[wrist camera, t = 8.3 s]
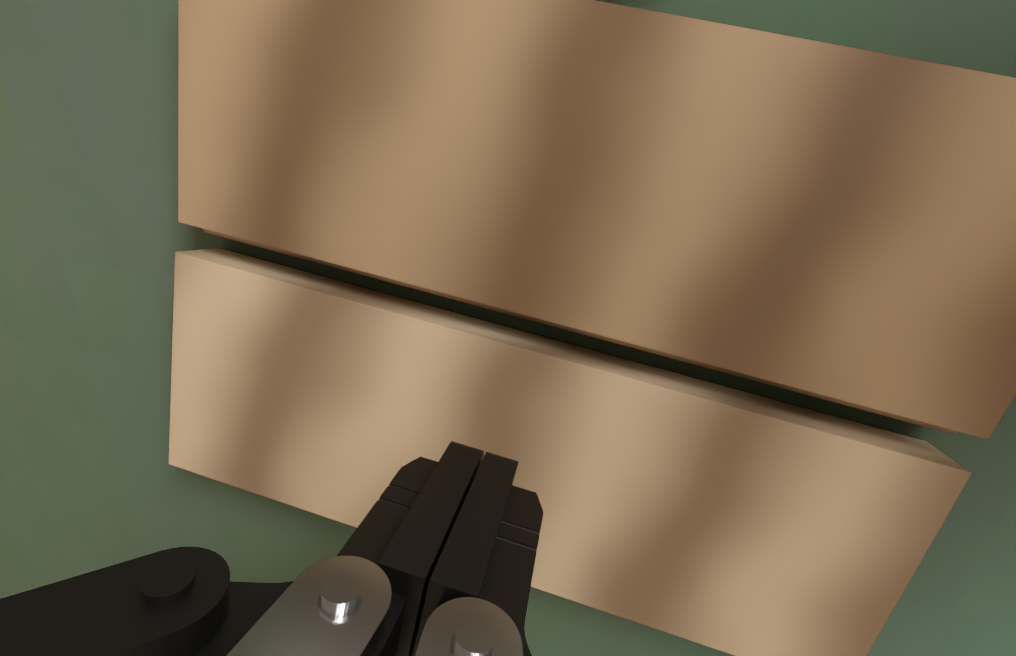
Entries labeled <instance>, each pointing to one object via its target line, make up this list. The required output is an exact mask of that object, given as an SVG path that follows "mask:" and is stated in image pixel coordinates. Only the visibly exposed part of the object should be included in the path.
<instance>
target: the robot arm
mask: <svg viewBox="0 0 1016 656" xmlns="http://www.w3.org/2000/svg"><path fill="white" fill-rule="evenodd" d="M483 456H484V457H483ZM518 463H519V461H516V460H513V459H509V458H506V457H503V456H500V455H496V454H493V453H490V452H486V453H485V455H484V451H483V450H480V449H476V448H473V447H470V446H467V445H463V444H460V443H457V442H454V441H451V442H450V444H449V445H448V447H447V449H446V450H445V452H444V454H443V455H442V457H441V459H440V460H439V462H436V461H433V460H430V459H427V458H424V457H421V456H420V457H419V458H417V459H415V460H413V461H411V462H410V463H408V464H406V465H404V466H402V467H401V468H400V470H399V471H398V472H397V474H396V475H395V477H394V478H393V479H392V481H391V482H390V484H389V486H387V488H386V489H385V490H384V492H383V493H382V494H381V496H380V498H379V500H377V501H376V503H375V504H374V505H373V507H372V508H371V510H370V511H369V512H368V514H367V515H366V517H365V518H364V519H363V521H362V522H361V523H360V525H359V526H358V528H357V529H356V530H355V532H354V533H353V534H352V536H351V537H350V539H349V540H348V541H347V543H346V544H345V545H344V547H343V548H342V550H341V551H340V552H339V554H338V555H337V556H335V557H330V558H327V559H324V560H321V561H319V562H317V563H315V564H313V565H311V566H310V567H308V568H307V569H306V570H304V571H303V572H302V573H301V574H300V575H299V576H298V577H297V578H296V579H295V580H294V581H291V582H284V583H254V582H230V571H229V567H228V565H227V563H226V561H225V560H224V559H223V558H222V557H221V556H220V555H219V554H217V553H216V552H213V551H211V550H209V549H204V548H200V547H178V548H171V549H167V550H163V551H159V552H156V553H153V554H149V555H146V556H143V557H139V558H136V559H133V560H129V561H126V562H122V563H119V564H116V565H112V566H109V567H106V568H102V569H99V570H96V571H92V572H89V573H86V574H82V575H79V576H76V577H72V578H69V579H66V580H62V581H59V582H56V583H52V584H49V585H46V586H42V587H39V588H35V589H32V590H29V591H25V592H22V593H19V594H15V595H12V596H9V597H5V598H2V599H0V656H532V655H531V653H530V651H529V648H528V645H527V642H526V638H525V630H524V623H525V615H526V610H527V604H528V598H529V593H530V587H531V581H532V575H533V570H534V564H535V558H536V551H537V547H538V541H539V534H540V530H541V524H542V518H543V509H542V507H541V504H540V501H539V498H538V496H537V493H536V492H532V491H529V490H526V489H523V488H520V487H516V486H513V481H514V478H515V474H516V470H517V467H518Z"/></svg>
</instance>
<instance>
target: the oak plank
mask: <svg viewBox="0 0 1016 656" xmlns="http://www.w3.org/2000/svg"><path fill="white" fill-rule="evenodd" d="M451 441H454V442H457V443H460V444H463V445H467V446H470V447H473V448H476V449H480V450H483V451H484V455H485V453H486V452H490V453H493V454H496V455H500V456H503V457H506V458H509V459H513V460H516V461H519V463H518V467H517V470H516V474H515V478H514V481H513V486H516V487H520V488H523V489H526V490H529V491H532V492H536V493H537V496H538V498H539V501H540V504H541V507H542V509H543V518H542V524H541V530H540V534H539V541H538V547H537V551H536V558H535V564H534V570H533V575H532V581H531V587H533V588H536V589H539V590H542V591H545V592H548V593H551V594H554V595H557V596H560V597H563V598H566V599H569V600H572V601H575V602H578V603H581V604H584V605H587V606H590V607H593V608H596V609H598V610H601V611H604V612H607V613H610V614H613V615H616V616H619V617H622V618H625V619H628V620H631V621H634V622H637V623H640V624H643V625H646V626H649V627H652V628H655V629H658V630H661V631H664V632H666V633H669V634H672V635H675V636H678V637H681V638H684V639H687V640H690V641H693V642H696V643H699V644H702V645H705V646H708V647H711V648H714V649H717V650H720V651H723V652H726V653H729V654H731V655H734V656H867V655H868V653H869V651H870V649H871V648H872V646H873V644H874V642H875V641H876V639H877V637H878V635H879V634H880V632H881V630H882V628H883V627H884V625H885V623H886V622H887V620H888V618H889V616H890V615H891V613H892V611H893V609H894V608H895V606H896V604H897V602H898V601H899V599H900V597H901V596H902V594H903V592H904V590H905V589H906V587H907V585H908V583H909V582H910V580H911V578H912V576H913V575H914V573H915V571H916V570H917V568H918V566H919V564H920V563H921V561H922V559H923V557H924V556H925V554H926V552H927V550H928V549H929V547H930V545H931V544H932V542H933V540H934V538H935V537H936V535H937V533H938V531H939V530H940V528H941V526H942V524H943V523H944V521H945V519H946V518H947V516H948V514H949V512H950V511H951V509H952V507H953V505H954V504H955V502H956V500H957V498H958V497H959V495H960V493H961V492H962V490H963V488H964V486H965V485H966V483H967V481H968V479H969V478H970V476H971V474H972V473H971V472H970V471H968V470H967V469H965V468H964V467H963V466H961V465H960V464H958V463H957V462H955V461H954V460H953V459H951V458H950V457H948V456H947V455H945V454H944V453H942V452H941V451H940V450H938V449H937V448H935V447H934V446H932V445H931V444H930V443H928V442H927V441H923V440H920V439H916V438H912V437H909V436H905V435H901V434H898V433H894V432H890V431H887V430H883V429H879V428H876V427H872V426H868V425H865V424H861V423H857V422H854V421H850V420H846V419H843V418H839V417H835V416H832V415H828V414H824V413H821V412H817V411H813V410H810V409H806V408H803V407H799V406H795V405H792V404H788V403H784V402H781V401H777V400H773V399H770V398H766V397H762V396H759V395H755V394H751V393H748V392H744V391H740V390H737V389H733V388H729V387H726V386H722V385H718V384H715V383H711V382H707V381H704V380H700V379H696V378H693V377H689V376H685V375H682V374H678V373H674V372H671V371H667V370H663V369H660V368H656V367H652V366H649V365H645V364H641V363H638V362H634V361H630V360H627V359H623V358H619V357H616V356H612V355H608V354H605V353H601V352H598V351H594V350H590V349H587V348H583V347H579V346H576V345H572V344H568V343H565V342H561V341H557V340H554V339H550V338H546V337H543V336H539V335H535V334H532V333H528V332H524V331H521V330H517V329H513V328H510V327H506V326H502V325H499V324H495V323H491V322H488V321H484V320H480V319H477V318H473V317H469V316H466V315H462V314H458V313H455V312H451V311H447V310H444V309H440V308H436V307H433V306H429V305H425V304H422V303H418V302H414V301H411V300H407V299H403V298H400V297H396V296H393V295H389V294H385V293H382V292H378V291H374V290H371V289H367V288H363V287H360V286H356V285H352V284H349V283H345V282H341V281H338V280H334V279H330V278H327V277H323V276H319V275H316V274H312V273H308V272H305V271H301V270H297V269H294V268H290V267H286V266H283V265H279V264H275V263H272V262H268V261H264V260H261V259H257V258H253V257H250V256H246V255H242V254H239V253H235V252H231V251H228V250H224V249H220V248H211V249H200V250H190V251H179V252H175V276H174V308H173V341H172V373H171V405H170V438H169V464H170V465H173V466H176V467H179V468H182V469H185V470H188V471H191V472H194V473H197V474H199V475H202V476H205V477H208V478H211V479H214V480H217V481H220V482H223V483H226V484H229V485H232V486H235V487H238V488H241V489H244V490H247V491H250V492H253V493H256V494H259V495H262V496H264V497H267V498H270V499H273V500H276V501H279V502H282V503H285V504H288V505H291V506H294V507H297V508H300V509H303V510H306V511H309V512H312V513H315V514H318V515H321V516H324V517H327V518H330V519H332V520H335V521H338V522H341V523H344V524H347V525H350V526H353V527H356V528H358V526H359V525H360V523H361V522H362V521H363V519H364V518H365V517H366V515H367V514H368V512H369V511H370V510H371V508H372V507H373V505H374V504H375V503H376V501H377V500H379V498H380V496H381V494H382V493H383V492H384V490H385V489H386V488H387V486H389V484H390V482H391V481H392V479H393V478H394V477H395V475H396V474H397V472H398V471H399V470H400V468H401V467H402V466H404V465H406V464H408V463H410V462H411V461H413V460H415V459H417V458H419V457H420V456H421V457H424V458H427V459H430V460H433V461H436V462H439V460H440V459H441V457H442V455H443V454H444V452H445V450H446V449H447V447H448V445H449V444H450V442H451ZM483 457H484V456H483Z"/></svg>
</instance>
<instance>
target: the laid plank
mask: <svg viewBox="0 0 1016 656" xmlns="http://www.w3.org/2000/svg"><path fill="white" fill-rule="evenodd" d="M178 222H181V223H184V224H188V225H192V226H196V227H199V228H203V232H205V233H209V234H213V235H217V236H220V237H224V238H228V239H231V240H235V241H239V242H243V243H246V244H250V245H254V246H257V247H261V248H265V249H268V250H272V251H276V252H280V253H283V254H287V255H291V256H294V257H298V258H302V259H306V260H309V261H313V262H317V263H320V264H324V265H328V266H331V267H335V268H339V269H343V270H346V271H350V272H354V273H357V274H361V275H365V276H369V277H372V278H376V279H380V280H383V281H387V282H391V283H394V284H398V285H402V286H406V287H409V288H413V289H417V290H420V291H424V292H428V293H432V294H435V295H439V296H443V297H446V298H450V299H454V300H457V301H461V302H465V303H469V304H472V305H476V306H480V307H483V308H487V309H491V310H495V311H498V312H502V313H506V314H509V315H513V316H517V317H521V318H524V319H528V320H532V321H535V322H539V323H543V324H546V325H550V326H554V327H558V328H561V329H565V330H569V331H572V332H576V333H580V334H584V335H587V336H591V337H595V338H598V339H602V340H606V341H609V342H613V343H617V344H621V345H624V346H628V347H632V348H635V349H639V350H643V351H647V352H650V353H654V354H658V355H661V356H665V357H669V358H672V359H676V360H680V361H684V362H687V363H691V364H695V365H698V366H702V367H706V368H710V369H713V370H717V371H721V372H724V373H728V374H732V375H735V376H739V377H743V378H747V379H750V380H754V381H758V382H761V383H765V384H769V385H773V386H776V387H780V388H784V389H787V390H791V391H795V392H798V393H802V394H806V395H810V396H813V397H817V398H821V399H824V400H828V401H832V402H836V403H839V404H843V405H847V406H850V407H854V408H858V409H861V410H865V411H869V412H873V413H876V414H880V415H884V416H887V417H891V418H895V419H899V420H902V421H906V422H910V423H913V424H917V425H921V426H924V427H928V428H932V429H936V430H939V431H943V432H947V433H950V434H954V432H955V431H958V432H962V433H965V434H969V435H973V436H977V437H980V438H984V439H989V437H990V436H991V434H992V432H993V431H994V429H995V428H996V426H997V424H998V423H999V421H1000V420H1001V418H1002V416H1003V415H1004V413H1005V411H1006V410H1007V408H1008V407H1009V405H1010V403H1011V402H1012V400H1013V399H1014V397H1015V395H1016V78H1014V77H1008V76H1003V75H998V74H992V73H987V72H981V71H976V70H970V69H965V68H960V67H954V66H949V65H943V64H938V63H932V62H927V61H922V60H916V59H911V58H905V57H900V56H895V55H889V54H884V53H878V52H873V51H867V50H862V49H857V48H851V47H846V46H840V45H835V44H829V43H824V42H819V41H813V40H808V39H802V38H797V37H792V36H786V35H781V34H775V33H770V32H764V31H759V30H754V29H748V28H743V27H737V26H732V25H726V24H721V23H716V22H710V21H705V20H699V19H694V18H689V17H683V16H678V15H672V14H667V13H661V12H656V11H651V10H645V9H640V8H634V7H629V6H623V5H618V4H613V3H607V2H602V1H596V0H179V71H178Z"/></svg>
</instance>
